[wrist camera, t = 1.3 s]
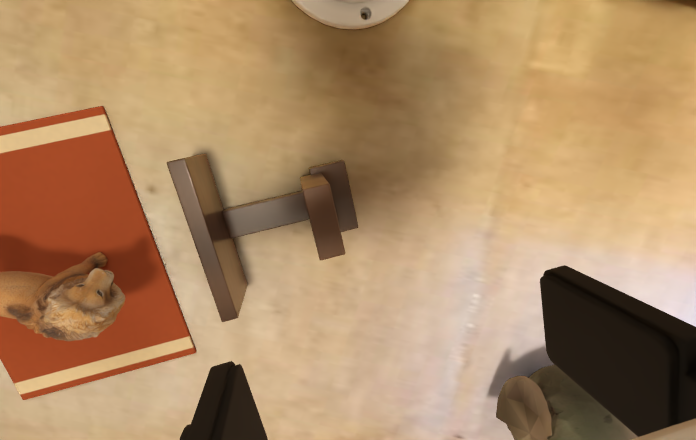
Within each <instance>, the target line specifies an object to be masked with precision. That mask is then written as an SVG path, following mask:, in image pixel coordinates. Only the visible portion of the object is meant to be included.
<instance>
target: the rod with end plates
mask: <svg viewBox="0 0 696 440" xmlns="http://www.w3.org/2000/svg"><path fill="white" fill-rule="evenodd" d="M167 165H168V168H169V171H170V174H171V177H172V180H173V183H174V186H175V188H176V191H177V194H178V197H179V200H180V203H181V206H182V208H183V211H184V214H185V217H186V220H187V223H188V226H189V229H190V231H191V234H192V237H193V240H194V243H195V246H196V249H197V252H198V254H199V257H200V260H201V263H202V266H203V269H204V272H205V274H206V277H207V280H208V283H209V286H210V289H211V292H212V295H213V297H214V300H215V303H216V306H217V309H218V312H219V315H220V318H221V320H222V322H225V321H229V320H232V319H236V318H238V316H239V312H240V309H241V305H242V302H243V299H244V295H245V292H246V289H247V282H246V279H245V275H244V272H243V269H242V266H241V263H240V260H239V256H238V253H237V250H236V247H235V244H234V241H233V238H235V237H239V236H243V235H247V234H252V233H256V232H260V231H264V230H268V229H272V228H276V227H280V226H284V225H288V224H292V223H296V222H300V221H304V220H308V219H310V223H311V227H312V231H313V235H314V239H315V243H316V247H317V251H318V254H319V258H320V260H324V259H328V258H332V257H336V256H340V255H344V254H345V249H344V245H343V240H342V236H341V232H343V231H347V230H351V229H355V228H358V223H357V219H356V214H355V209H354V205H353V200H352V195H351V191H350V186H349V181H348V177H347V172H346V168H345V163H344V161H343V160H339V161H335V162H331V163H327V164H322V165H318V166H314V167H309V172H310V175H307V176H303V177H300V180H301V186H302V191H299V192H295V193H291V194H287V195H282V196H278V197H274V198H270V199H266V200H261V201H257V202H253V203H249V204H245V205H241V206H236V207H232V208H228V209H223V206H222V203H221V200H220V197H219V193H218V190H217V187H216V184H215V181H214V178H213V174H212V171H211V168H210V165H209V162H208V159H207V156H206V154H201V155H196V156H192V157H187V158H183V159H178V160H174V161H169V162H167Z"/></svg>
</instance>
